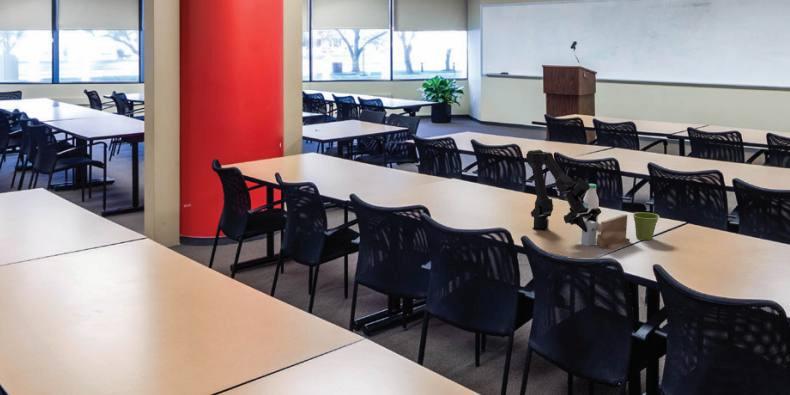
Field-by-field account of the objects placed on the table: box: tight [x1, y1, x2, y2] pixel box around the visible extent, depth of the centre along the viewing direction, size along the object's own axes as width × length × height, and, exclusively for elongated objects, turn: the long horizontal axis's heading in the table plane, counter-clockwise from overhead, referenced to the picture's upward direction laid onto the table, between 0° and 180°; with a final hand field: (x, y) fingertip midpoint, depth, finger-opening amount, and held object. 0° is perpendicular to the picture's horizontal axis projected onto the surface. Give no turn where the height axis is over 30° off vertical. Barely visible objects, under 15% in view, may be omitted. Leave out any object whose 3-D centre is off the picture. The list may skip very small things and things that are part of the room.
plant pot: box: [632, 211, 660, 241], centre depth 339 cm, size 12×12×11 cm
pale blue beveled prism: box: [580, 221, 598, 247], centre depth 330 cm, size 5×5×10 cm
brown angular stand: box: [596, 214, 631, 250], centre depth 332 cm, size 14×20×12 cm
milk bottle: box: [582, 183, 600, 223], centre depth 368 cm, size 8×8×20 cm
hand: (591, 231), depth 329 cm, fingers open, 6 cm apart
